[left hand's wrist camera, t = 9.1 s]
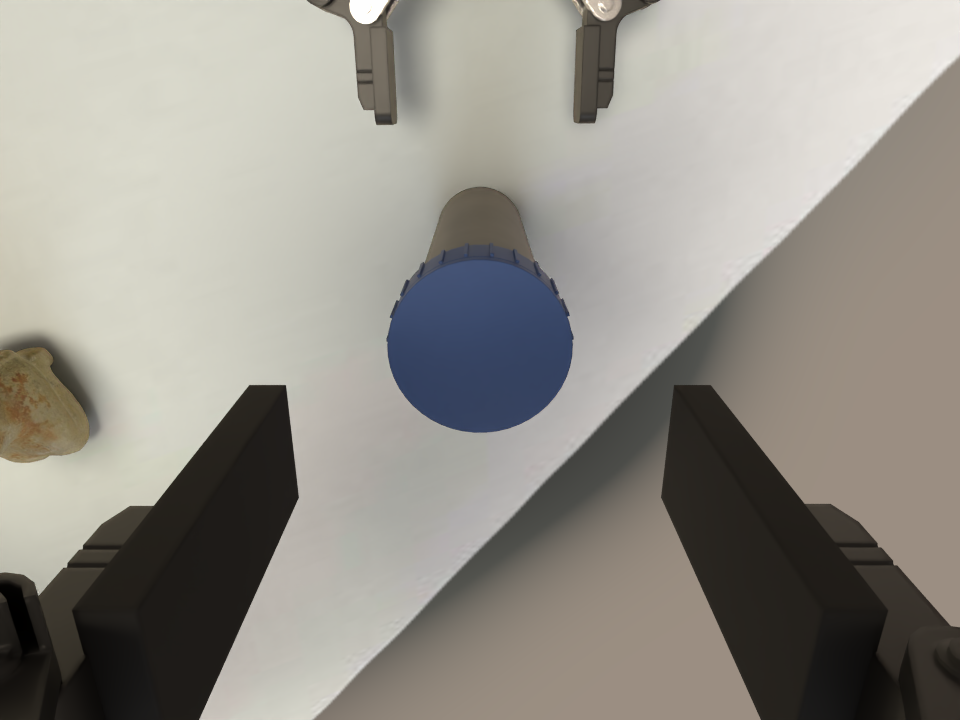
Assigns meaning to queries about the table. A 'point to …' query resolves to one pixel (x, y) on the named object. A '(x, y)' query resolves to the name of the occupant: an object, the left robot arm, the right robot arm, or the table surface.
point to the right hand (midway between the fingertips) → (486, 123)
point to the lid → (480, 339)
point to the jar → (479, 223)
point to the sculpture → (37, 409)
